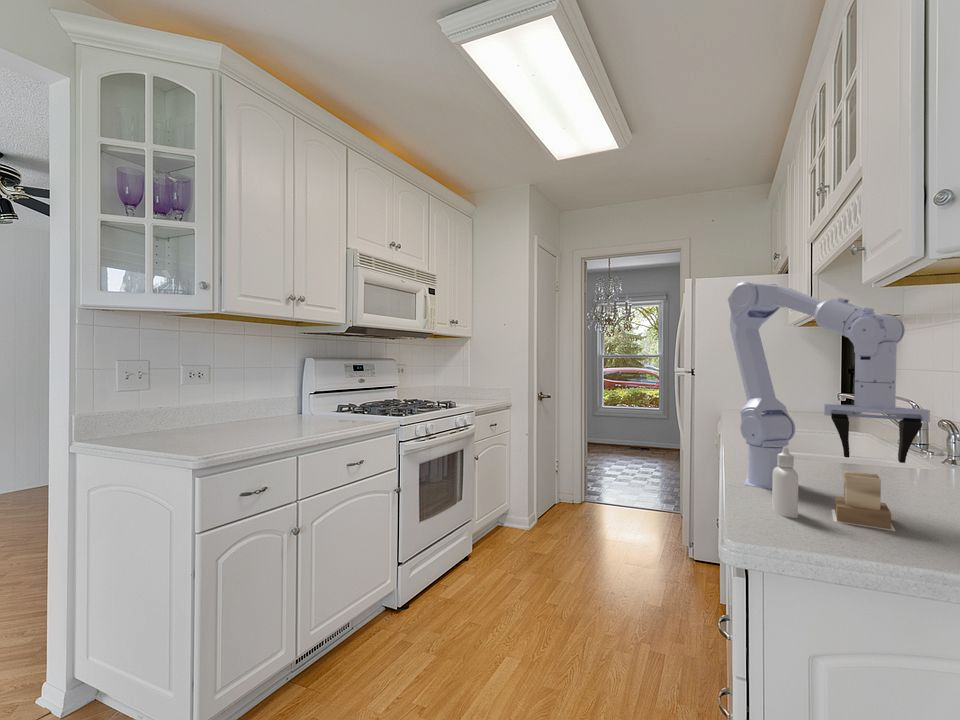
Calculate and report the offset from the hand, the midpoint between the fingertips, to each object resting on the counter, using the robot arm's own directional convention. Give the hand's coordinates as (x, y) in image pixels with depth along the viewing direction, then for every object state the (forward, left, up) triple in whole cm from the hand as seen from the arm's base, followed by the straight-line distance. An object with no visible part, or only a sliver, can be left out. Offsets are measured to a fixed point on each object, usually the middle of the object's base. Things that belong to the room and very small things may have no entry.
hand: (873, 459), depth 89 cm
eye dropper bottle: (+9, -13, -10) cm, 19 cm away
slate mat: (+4, -4, -10) cm, 12 cm away
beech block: (+6, -2, -7) cm, 9 cm away
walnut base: (+6, -2, -9) cm, 11 cm away
